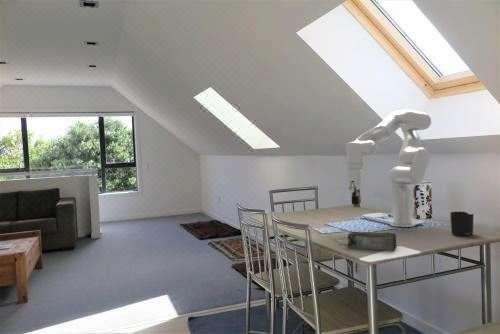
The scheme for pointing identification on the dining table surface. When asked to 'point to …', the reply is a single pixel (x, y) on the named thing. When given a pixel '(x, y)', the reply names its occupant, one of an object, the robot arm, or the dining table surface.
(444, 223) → the dining table surface
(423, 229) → the dining table surface
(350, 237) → the beverage carton
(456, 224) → the pen holder
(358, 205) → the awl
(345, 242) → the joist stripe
